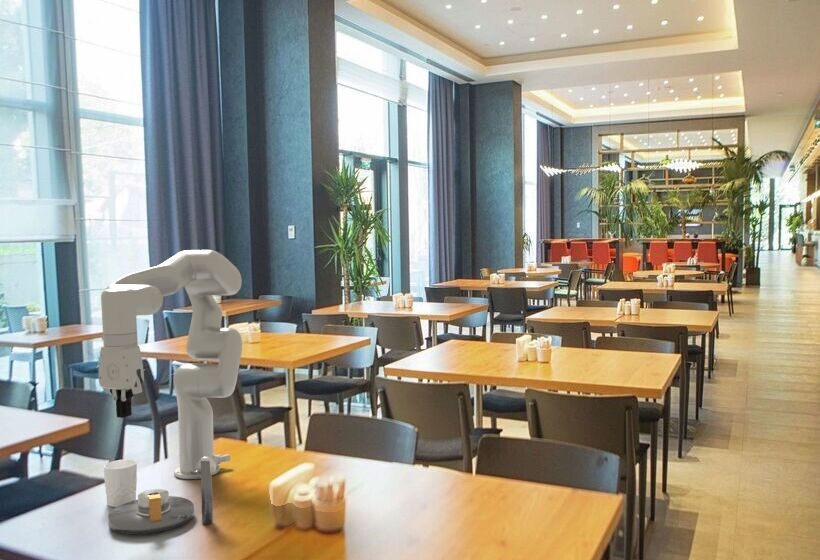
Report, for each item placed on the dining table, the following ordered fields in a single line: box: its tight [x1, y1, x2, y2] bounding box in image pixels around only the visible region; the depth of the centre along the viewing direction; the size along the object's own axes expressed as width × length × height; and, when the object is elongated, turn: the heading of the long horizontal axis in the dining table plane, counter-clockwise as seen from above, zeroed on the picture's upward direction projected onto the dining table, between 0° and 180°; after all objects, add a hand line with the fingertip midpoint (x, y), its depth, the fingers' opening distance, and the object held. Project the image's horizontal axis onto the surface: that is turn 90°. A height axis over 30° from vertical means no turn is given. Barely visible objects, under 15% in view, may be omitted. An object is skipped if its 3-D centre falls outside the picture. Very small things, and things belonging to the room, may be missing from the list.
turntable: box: [107, 494, 195, 535], centre depth 169 cm, size 19×19×7 cm
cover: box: [137, 488, 171, 517], centre depth 169 cm, size 8×8×4 cm
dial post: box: [190, 457, 216, 526], centre depth 168 cm, size 6×2×16 cm, turn 86°
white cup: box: [103, 459, 138, 508], centre depth 182 cm, size 8×8×10 cm
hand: (124, 416), depth 171 cm, fingers closed
